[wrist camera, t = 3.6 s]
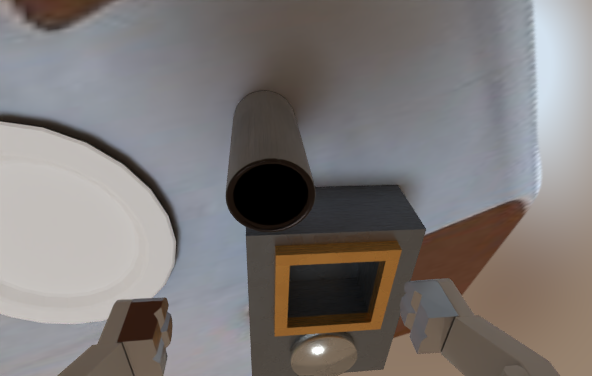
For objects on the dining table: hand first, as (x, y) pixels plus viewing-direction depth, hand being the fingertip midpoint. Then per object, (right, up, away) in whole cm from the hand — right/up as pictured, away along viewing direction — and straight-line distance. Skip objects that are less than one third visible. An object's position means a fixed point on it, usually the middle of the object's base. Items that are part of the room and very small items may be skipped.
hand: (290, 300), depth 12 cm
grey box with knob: (+2, -4, +23) cm, 23 cm away
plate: (-21, 0, +18) cm, 27 cm away
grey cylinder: (-2, +9, +14) cm, 17 cm away
